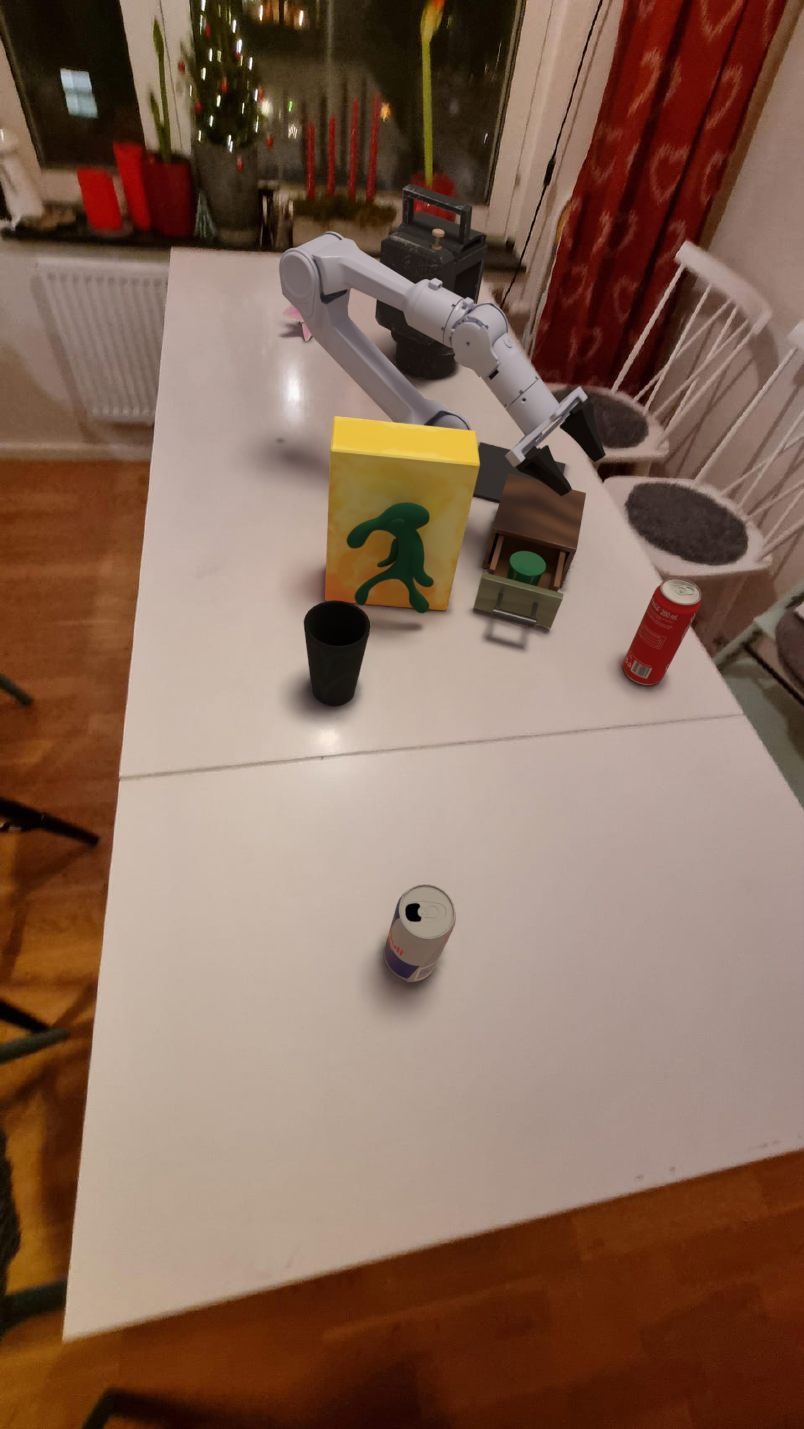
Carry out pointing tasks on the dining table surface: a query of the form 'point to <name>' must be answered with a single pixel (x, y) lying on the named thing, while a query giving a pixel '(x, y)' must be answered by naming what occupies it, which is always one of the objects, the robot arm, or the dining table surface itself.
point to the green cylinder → (526, 568)
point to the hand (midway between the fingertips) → (583, 475)
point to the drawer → (521, 586)
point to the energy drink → (419, 932)
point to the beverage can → (662, 630)
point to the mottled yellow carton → (397, 511)
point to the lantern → (430, 274)
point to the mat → (496, 472)
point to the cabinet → (537, 518)
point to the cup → (335, 649)
